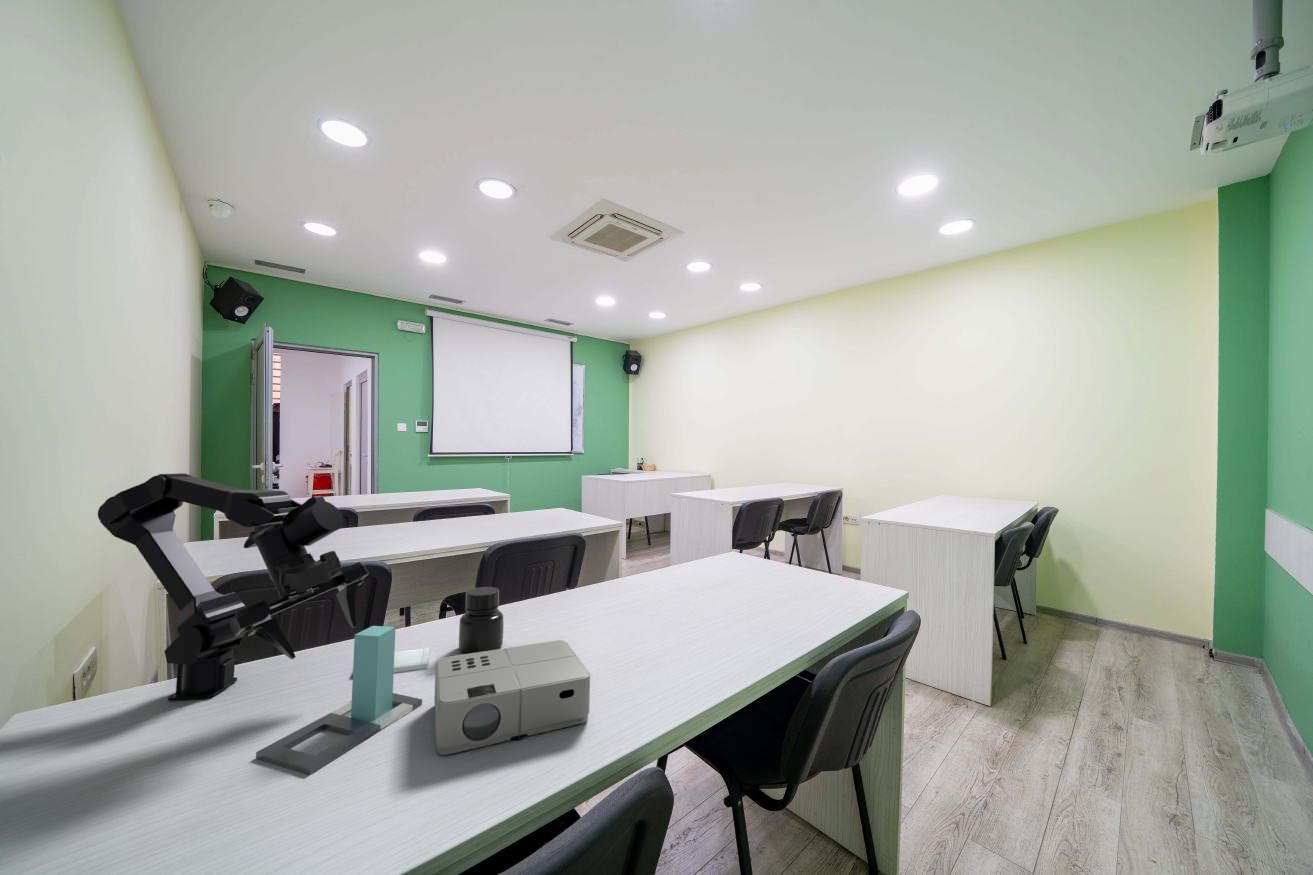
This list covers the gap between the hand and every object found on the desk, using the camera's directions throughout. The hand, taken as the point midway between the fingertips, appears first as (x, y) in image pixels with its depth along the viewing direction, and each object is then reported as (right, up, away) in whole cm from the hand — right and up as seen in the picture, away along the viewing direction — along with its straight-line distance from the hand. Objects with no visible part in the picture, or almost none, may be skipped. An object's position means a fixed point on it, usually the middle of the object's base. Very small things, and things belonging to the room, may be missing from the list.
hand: (325, 642), depth 80 cm
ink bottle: (+18, -11, +22) cm, 31 cm away
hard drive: (+4, -11, +14) cm, 18 cm away
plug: (+10, -10, -4) cm, 15 cm away
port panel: (+9, -9, -8) cm, 16 cm away
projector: (+32, -11, -3) cm, 34 cm away
